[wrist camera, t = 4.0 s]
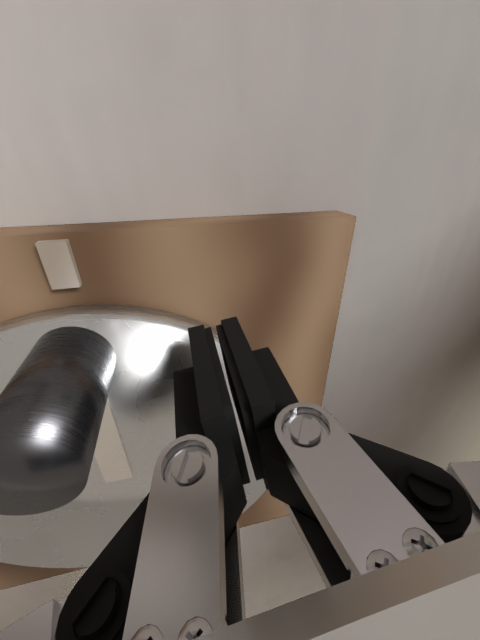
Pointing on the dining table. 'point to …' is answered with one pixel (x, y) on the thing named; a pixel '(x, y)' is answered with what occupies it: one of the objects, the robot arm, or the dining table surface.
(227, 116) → the dining table surface
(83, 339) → the dial
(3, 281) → the dial base
